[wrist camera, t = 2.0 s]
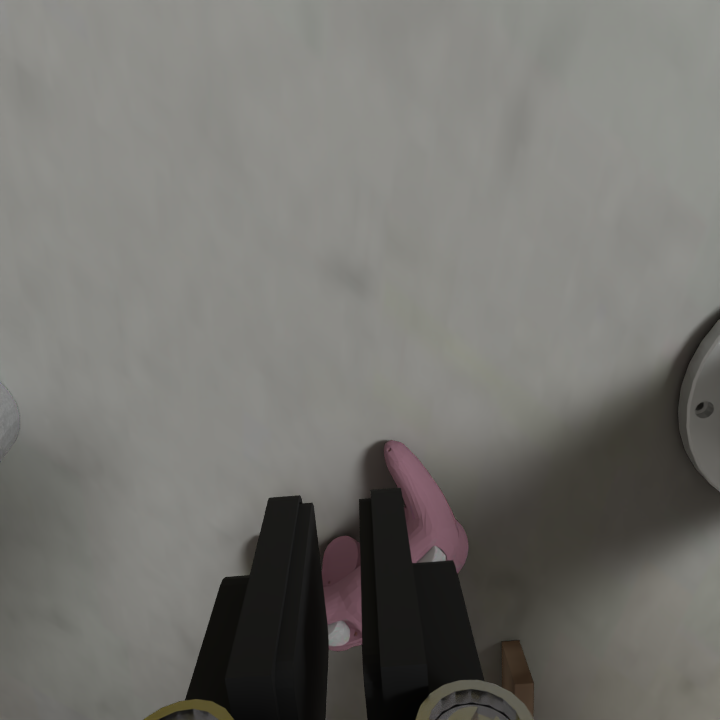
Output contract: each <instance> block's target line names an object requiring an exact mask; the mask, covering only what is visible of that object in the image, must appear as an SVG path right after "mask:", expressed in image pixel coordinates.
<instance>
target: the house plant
mask: <svg viewBox="0 0 720 720" xmlns="http://www.w3.org/2000/svg"><path fill="white" fill-rule="evenodd" d="M19 429H20V415H19V411H18V408H17V404H16V402H15V400H14V399H13V397H12V395H11V394H10V392H9V391H8V390H7V389H6V387H5V386H4V385H3V384H2V383H1V382H0V462H1V460H2V459H3V457H4V456H5V455H6V453H7V452H8V450H9V449H10V448H11V446H12V445H13V443H14V442H15V441H16V438H17V435H18V432H19Z"/></svg>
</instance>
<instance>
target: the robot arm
mask: <svg viewBox="0 0 720 720" xmlns="http://www.w3.org/2000/svg"><path fill="white" fill-rule="evenodd" d="M678 418H679V432H680V435H681V438H682V442H683V445H684V448H685V451H686V453H687V455H688V457H689V458H690V460H691V462H692V463H693V465H694V467H695V469H696V470H697V471H698V472H699V473H700V474H701V475H702V476H703V477H704V478H705V479H706V480H707V481H708V482H709V483H710V484H711V485H712V486H713V487H714V488H716V489H717V490H718V491H719V492H720V319H719V320H718V321H717V323H716V324H715V325H714V326H713V328H712V329H711V330H710V331H709V333H708V334H707V335H706V336H705V338H704V339H703V340H702V341H701V343H700V345H699V347H698V349H697V350H696V352H695V354H694V356H693V358H692V359H691V361H690V363H689V365H688V368H687V371H686V374H685V377H684V380H683V383H682V386H681V391H680V398H679V405H678ZM359 516H360V564H361V613H362V656H363V674H364V687H365V698H366V708H367V718H368V720H534V718H533V717H532V715H531V713H530V712H529V710H528V709H527V707H526V706H525V704H524V703H523V702H522V701H521V700H519V699H518V698H517V697H516V696H515V695H514V694H513V693H512V692H510V691H508V690H506V689H504V688H502V687H500V686H498V685H496V684H493V683H489V682H485V681H484V678H483V674H482V670H481V666H480V662H479V658H478V654H477V650H476V646H475V642H474V638H473V634H472V630H471V626H470V622H469V618H468V614H467V610H466V606H465V602H464V598H463V594H462V590H461V586H460V582H459V578H458V574H457V571H456V567H455V564H454V561H453V560H448V561H435V562H421V563H412V559H411V552H410V545H409V538H408V531H407V525H406V518H405V511H404V504H403V497H402V491H401V488H392V489H378V490H371V498H369V499H359ZM328 652H329V637H328V623H327V615H326V606H325V598H324V589H323V581H322V572H321V564H320V555H319V547H318V538H317V530H316V521H315V513H314V506H313V503H303V504H302V499H301V496H287V497H273V498H269V500H268V503H267V507H266V511H265V515H264V519H263V523H262V527H261V532H260V536H259V540H258V544H257V548H256V552H255V556H254V560H253V565H252V569H251V573H250V575H247V576H233V577H225V578H224V579H223V580H222V583H221V585H220V588H219V591H218V594H217V598H216V601H215V604H214V607H213V611H212V614H211V617H210V620H209V624H208V627H207V630H206V634H205V637H204V640H203V643H202V647H201V650H200V653H199V656H198V660H197V663H196V666H195V669H194V673H193V676H192V679H191V683H190V686H189V689H188V692H187V696H186V699H185V701H179V702H176V703H173V704H170V705H168V706H165V707H162V708H160V709H159V710H157V711H156V712H154V713H152V714H151V715H149V716H148V717H146V718H145V719H143V720H325V715H326V694H327V673H328Z"/></svg>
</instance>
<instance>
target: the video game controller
mask: <svg viewBox="0 0 720 720" xmlns="http://www.w3.org/2000/svg"><path fill="white" fill-rule="evenodd" d="M384 457H385V460H386V464H387V468H388V470H389V472H390V473H391V475H392V477H393V479H394V481H395V483H396V485H397V487H398V488H401V491H402V497H403V499H404V502H405V505H406V507H405V506H404V511H405V518H406V525H407V531H408V538H409V545H410V552H411V559H412V563H421V562H435V561H448V560H453V561H454V564H455V567H456V571H457V574H458V573H459V571H460V570H461V569H462V567H463V565H464V564H465V561H466V558H467V555H468V549H469V548H468V539H467V535H466V532H465V530H464V528H463V527H462V525H461V524H460V523H459V522H458V521H457V520H456V519H455V517H454V515H453V512H452V510H451V508H450V506H449V504H448V502H447V500H446V498H445V496H444V495H443V493H442V491H441V490H440V488H439V486H438V485H437V484H436V482H435V481H434V479H433V478H432V476H431V475H430V474H429V472H428V471H427V469H426V468H425V467H424V466H423V464H422V463H421V462H420V461H419V459H418V458H417V457H416V456H415V455H414V454H413V453H412V452H411V451H410V450H409V449H408V448H407V447H406V446H405V445H404V444H402V443H401V442H397V441H393V440H390V441H388V442H386V443H385V445H384ZM322 581H323V589H324V598H325V606H326V615H327V623H328V637H329V650H333V651H344V650H348V649H349V648H351V647H353V646H358V645H362V613H361V564H360V543H359V542H358V541H356V540H355V539H353V538H351V537H349V536H340V537H338V538H336V539H334V540H333V541H332V542H331V543H330V544H329V545H328V546H327V548H326V550H325V552H324V557H323V565H322Z"/></svg>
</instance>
